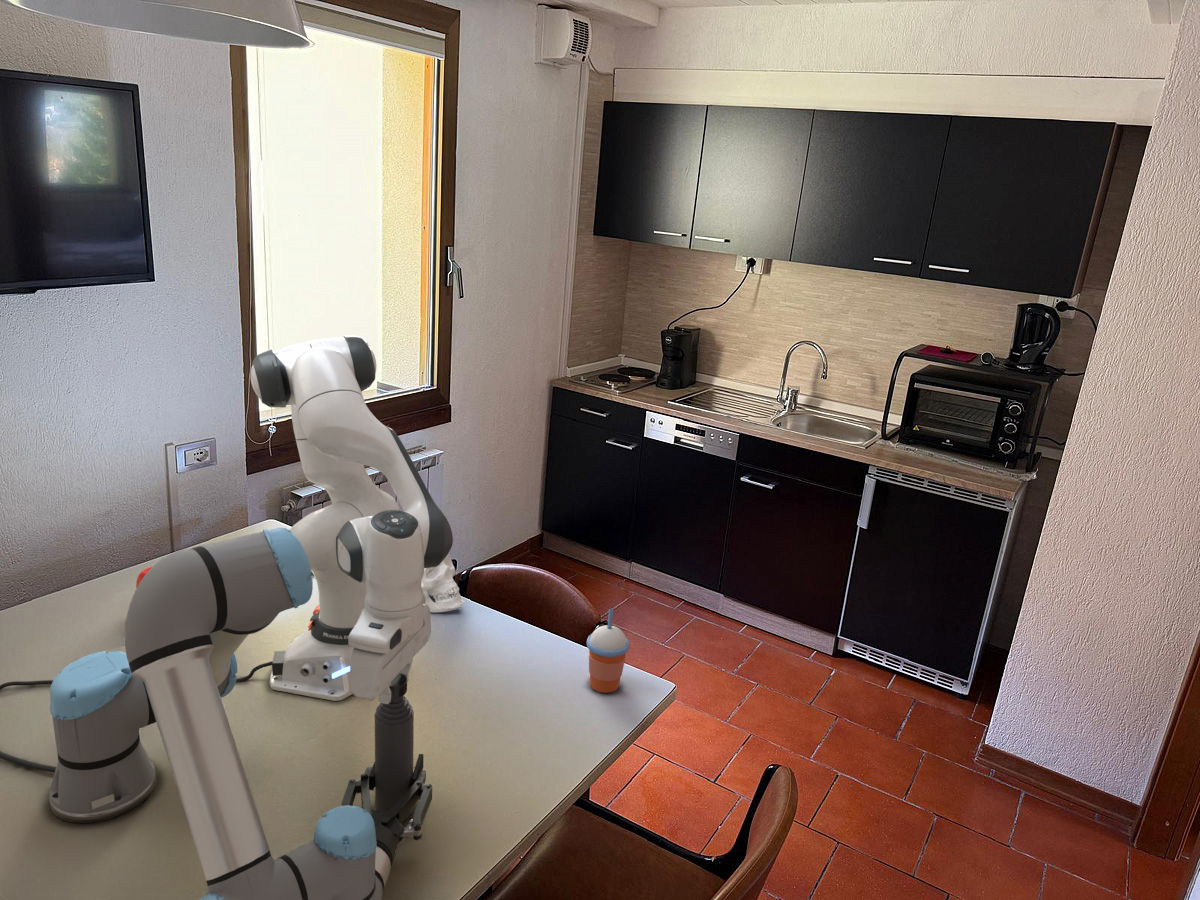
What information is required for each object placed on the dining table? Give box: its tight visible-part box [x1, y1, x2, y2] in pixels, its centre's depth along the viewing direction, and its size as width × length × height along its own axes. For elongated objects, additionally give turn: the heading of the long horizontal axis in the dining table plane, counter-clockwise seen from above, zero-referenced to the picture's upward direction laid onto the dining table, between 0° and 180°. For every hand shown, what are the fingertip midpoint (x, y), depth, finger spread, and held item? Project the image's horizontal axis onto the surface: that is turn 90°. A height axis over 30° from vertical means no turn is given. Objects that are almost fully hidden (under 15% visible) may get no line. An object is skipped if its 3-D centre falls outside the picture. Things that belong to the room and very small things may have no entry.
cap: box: [389, 674, 408, 698], centre depth 136 cm, size 4×4×2 cm
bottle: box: [374, 695, 415, 821], centre depth 139 cm, size 6×6×24 cm
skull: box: [421, 552, 465, 614], centre depth 211 cm, size 13×22×16 cm, turn 67°
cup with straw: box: [586, 608, 630, 694], centre depth 181 cm, size 9×9×18 cm
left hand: (401, 759), depth 146 cm, fingers closed on bottle, 6 cm apart
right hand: (393, 692), depth 136 cm, fingers closed on cap, 4 cm apart
